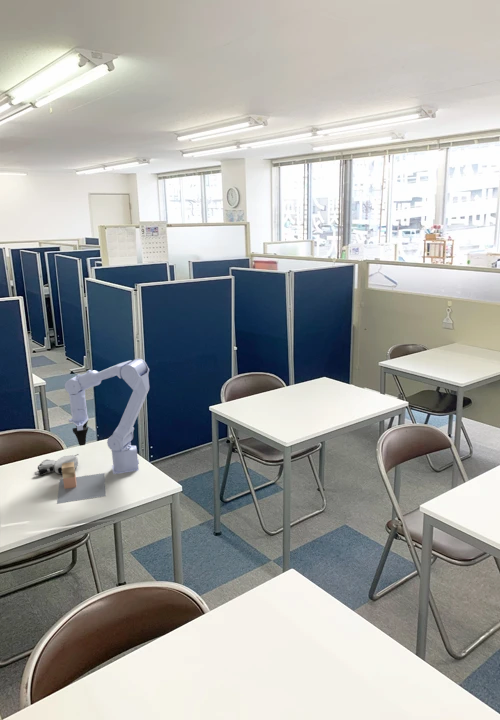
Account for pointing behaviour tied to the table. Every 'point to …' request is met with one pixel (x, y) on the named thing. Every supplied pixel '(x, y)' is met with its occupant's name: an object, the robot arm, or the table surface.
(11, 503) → the table surface
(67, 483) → the base brick
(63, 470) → the top brick
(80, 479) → the baseplate
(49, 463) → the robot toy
